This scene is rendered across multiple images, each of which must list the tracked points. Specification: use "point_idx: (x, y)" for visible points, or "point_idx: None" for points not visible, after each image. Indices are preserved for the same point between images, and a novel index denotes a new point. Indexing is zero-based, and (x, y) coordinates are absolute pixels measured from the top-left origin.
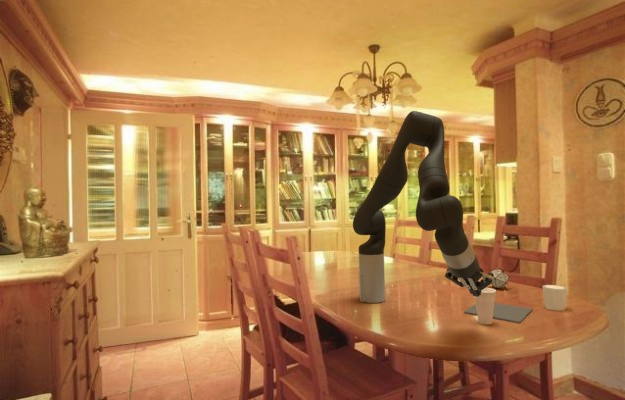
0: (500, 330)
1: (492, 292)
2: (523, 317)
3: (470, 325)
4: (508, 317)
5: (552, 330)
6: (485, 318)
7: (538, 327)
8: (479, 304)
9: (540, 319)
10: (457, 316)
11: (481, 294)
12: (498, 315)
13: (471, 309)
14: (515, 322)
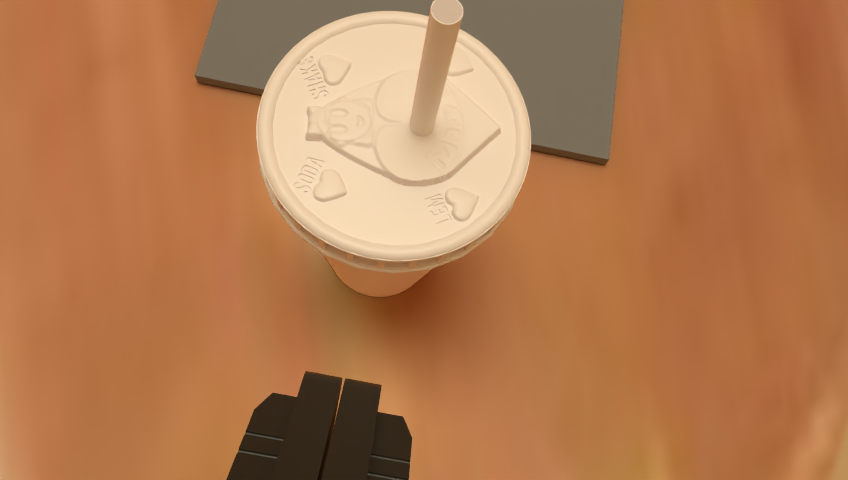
0: (506, 391)
1: (502, 215)
2: (616, 54)
3: (279, 377)
4: (526, 95)
5: (802, 224)
6: (391, 290)
7: (720, 199)
8: (345, 265)
9: (704, 24)
10: (153, 187)
11: (375, 265)
12: None
13: (247, 2)
14: (576, 158)
